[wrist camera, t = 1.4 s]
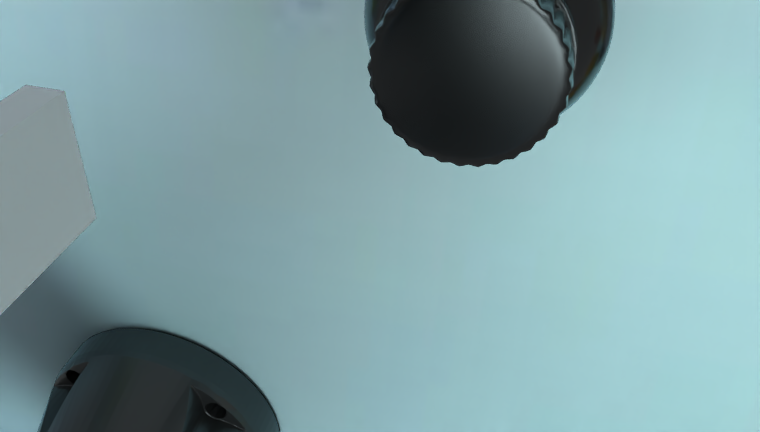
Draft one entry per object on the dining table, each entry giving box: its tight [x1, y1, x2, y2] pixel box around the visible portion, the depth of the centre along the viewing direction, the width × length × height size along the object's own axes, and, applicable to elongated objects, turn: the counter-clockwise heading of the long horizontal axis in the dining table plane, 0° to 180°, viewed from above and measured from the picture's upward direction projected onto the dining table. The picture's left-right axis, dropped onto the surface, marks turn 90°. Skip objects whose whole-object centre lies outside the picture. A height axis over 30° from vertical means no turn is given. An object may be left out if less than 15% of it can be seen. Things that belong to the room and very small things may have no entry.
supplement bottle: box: [364, 0, 615, 167], centre depth 21 cm, size 7×7×12 cm
